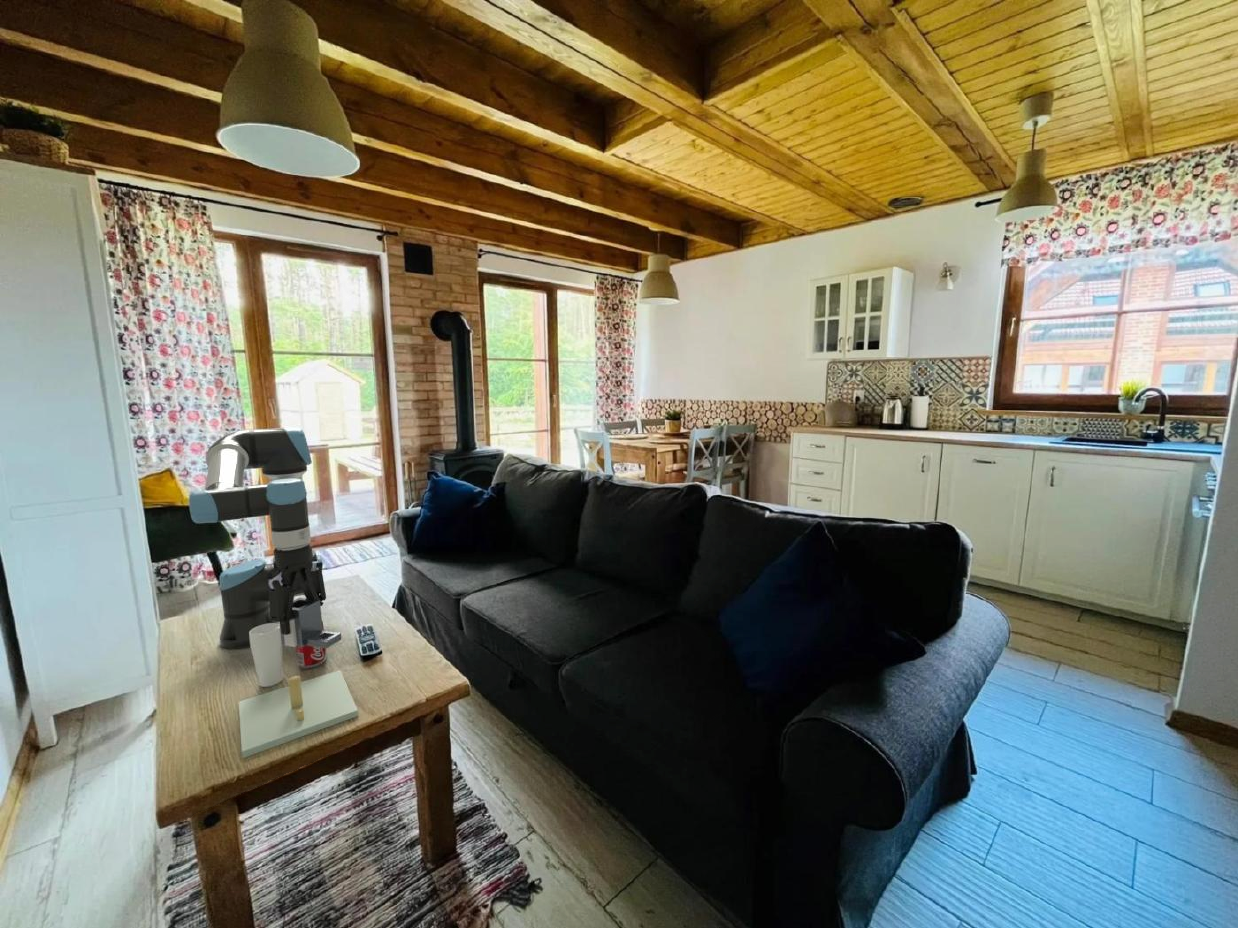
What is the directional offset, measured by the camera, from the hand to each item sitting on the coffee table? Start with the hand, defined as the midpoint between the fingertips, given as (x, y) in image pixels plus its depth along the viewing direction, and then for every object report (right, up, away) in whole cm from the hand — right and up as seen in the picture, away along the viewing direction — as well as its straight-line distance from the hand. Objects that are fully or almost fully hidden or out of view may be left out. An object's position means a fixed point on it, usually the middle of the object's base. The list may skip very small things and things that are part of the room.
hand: (303, 638), depth 122 cm
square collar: (+3, 0, -1) cm, 3 cm away
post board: (-1, -17, 0) cm, 17 cm away
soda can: (-11, -14, +21) cm, 28 cm away
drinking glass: (-16, -16, +12) cm, 26 cm away
